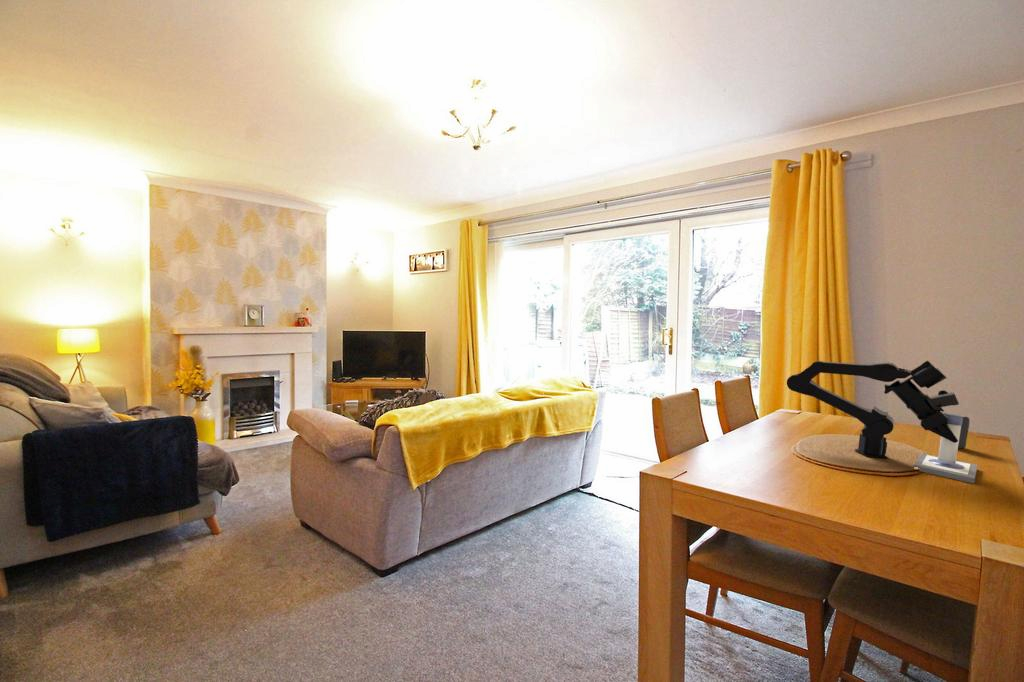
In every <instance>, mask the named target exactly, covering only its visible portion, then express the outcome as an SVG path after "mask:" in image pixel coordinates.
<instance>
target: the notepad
mask: <svg viewBox="0 0 1024 682" xmlns="http://www.w3.org/2000/svg"><path fill="white" fill-rule="evenodd" d="M914 467H918V468H920V470H919V471H918V472H921V473H925V474H931V475H934V476H939V477H943V478H947V479H953V480H956V481H961V482H964V483H965V482H966V483H968V484H969V483H970V484H972V485H973V484H975V482H976V475H977V470H978V464H976V463H971V462H965V461H962V460H961V461H960V460H957V459H956V463H947V462H943V461H940V460H938V455H932V454H926V453H922V452H921V453H920V455H919V456H918V458H917V459H916V461H915V463H914V464H913V468H914Z"/></svg>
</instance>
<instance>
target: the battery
mask: <svg viewBox="0 0 1024 682" xmlns="http://www.w3.org/2000/svg"><path fill="white" fill-rule="evenodd" d="M962 416H963V420H962V425H961V431H960V437H959V444H958V449H965V448H966V447H967V441H968V440H967V439H968V435H969V428H970V418H969V417H967V416H965V415H962Z"/></svg>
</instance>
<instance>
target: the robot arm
mask: <svg viewBox="0 0 1024 682" xmlns="http://www.w3.org/2000/svg"><path fill="white" fill-rule="evenodd" d="M821 373H822V374H834V375H844V376H845V375H846V376H857V377H864V378H867V379H872V380H876V381H880V382H884V383H890V384H884V392H883V393H884V394H885V395H887V394H889V393H891V392H892V393H893V394H894V395H895V396H896V397H898V399H899V400H900V401H901V402H902V403H903V404H904V405H905V406H906V408H907V409H908V410H910V411H911V412H912V413H913V414H914V415H915V416H916V417H917V419H918V420H919V421H920V423H919V424H920V426H921V427H922V429H924V430H925V431H930V432H931V433H933V434H934V435H937V436H940V437H941V436H942V437H944V438H946V439H948V440H950V441H952V442H954V443H956V442H958V440H957V438H956V437H955V435H954V434H953V432H952V431H951V430H950V428H949V427H948V425H947V423H948V417H946V415H945V414H944V413H945V410H944V407H950V406H954V407H955V406H957V405H960V402H959V401H958V398H957V395H956V394H955V393H954V392H951V391H950V392H948V391H946V390H945V389H942V390H939V391H938V393H937V395H934V396H933V395H932V396H929V395H928V394H926V393H924V392H923V391H922V390H921V389H922V388H926V389H930V388H932V387H934V386H935V385H937V384H939V383H941V382H942V381H944V380H947V379H948V377H947V376H946V374H944V373H943V372H942V370H940V369H939V368H938V367H936V366H935V365H934V364H933V363H931V362H930V361H929V360H925V361H924V362H922V364H920V365H918V366H916V367H915V368H913V369H911V370H909V369H905V368H901V367H898V366H897V365H896V364H895V363H893V362H877V363H865V364H864V363H862V364H861V363H849V362H833V361H824V360H817V361H814V362H812V363H811V364H810V366H808V367H806V368H805V369H803V371H801V372H799V373H795V374H793V375H790V376H789V377H788V378H787V380H786V386H787V388H788V389H789V390H790V391H792V392H795V393H799V394H801V395H805V396H809V397H813V398H815V399H817V400H819V401H821V402H823V403H825V404H827V405H828V406H831V407H833V408H836V409H837V410H839V411H840V412H843V413H845V414H846V415H849V416H851V417H853V418H855V419H857V420H858V421H859V422H861V424H863V427H862V429H861V433H859V438H858V439H859V440H858V446H857V448H854V451H855V452H857V453H859V454H861V455H863V456H865V457H867V458H868V457H870V458H879V457H884V458H883V459H888V458H887V457H888V455H886V454H887V447H888V442H887V437H885V435H889V434H891V433H892V432H893V430H894V428H895V421H894V418H893V417H892V416H891V415H889V412H887V411H883V410H881V409H879V408H878V407H877V406H873V408H872V409H869V408H865V407H862V406H861V405H858V403H857V404H856V403H855V402H852V401H850V400H849V399H847V398H844V397H843V396H840V395H838V394H836V393H834V392H832V391H830V390H829V389H826V388H824V387H822V386H820V385H819V384H818V383H816V382H815V381H814V380H813V379H814V378H815V377H817V376H818V375H820V374H821ZM899 379H904V380H903V381H901V380H899ZM912 381H913V382H912ZM891 382H892V383H891ZM914 382H915V383H916V384H915V383H914ZM918 387H919V388H918ZM920 388H921V389H920Z"/></svg>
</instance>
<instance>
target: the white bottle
mask: <svg viewBox="0 0 1024 682" xmlns="http://www.w3.org/2000/svg"><path fill="white" fill-rule="evenodd" d="M943 413H944V414H945V415H946V417H948V423H947V425H948V427H949V428H950V430H951V431H952V432H953V434H954V435H955V437H956V438H957V440H958V442H956V443H954V442H952V441H950V440H948V439H946V438H944V437H942V436H940V442H939V447H938V448H939V449H938V454H937V456H938V460H940V461H943V462H947V463H956V460H957V457H958V451H959V450H958V449H959V448H958V444H959V437H960V431H961V425H962V420H963V416H964V415H961V414H955V413H950V412H949V413H948V412H947V413H946V412H943Z"/></svg>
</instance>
